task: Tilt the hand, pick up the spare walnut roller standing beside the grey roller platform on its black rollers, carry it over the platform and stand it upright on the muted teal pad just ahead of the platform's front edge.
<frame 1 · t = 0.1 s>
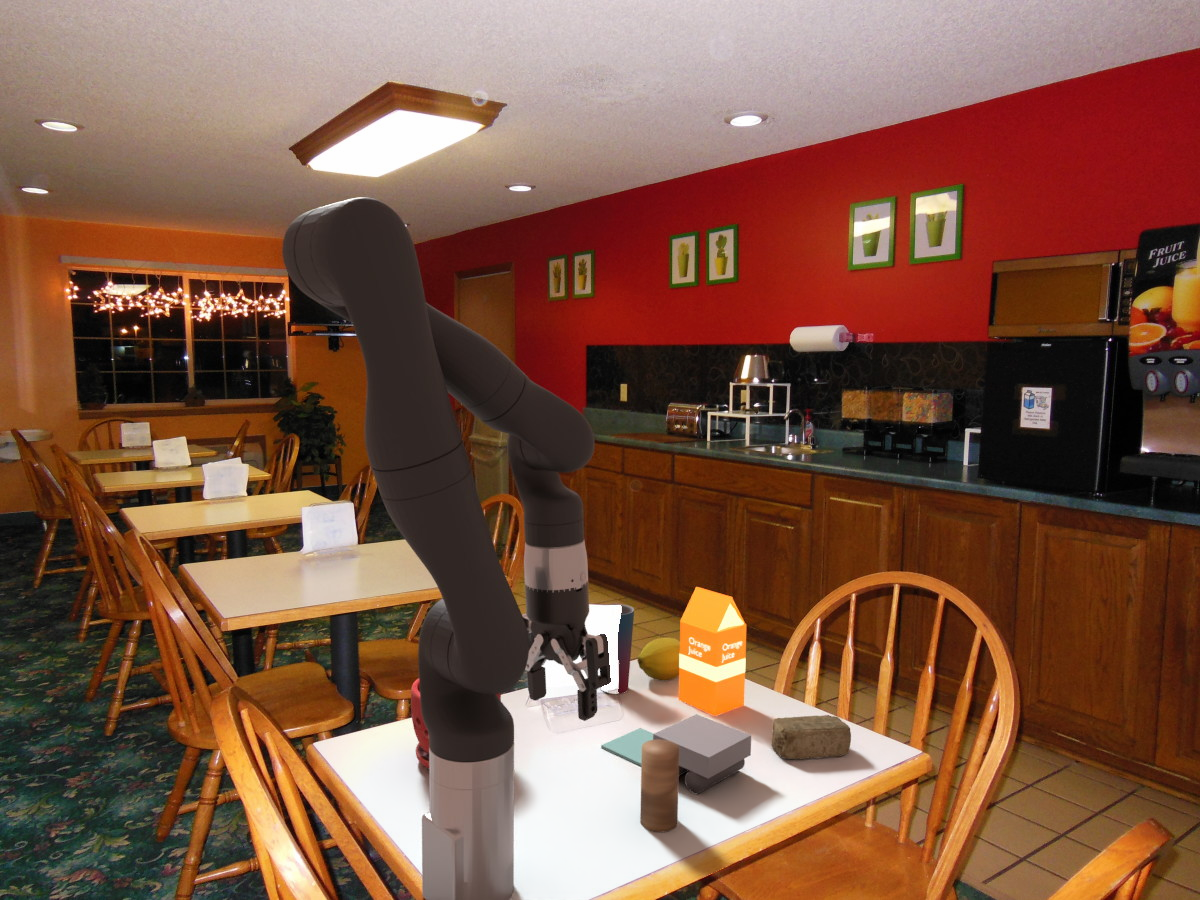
hand: (562, 707, 100), 17 cm above the table, tool pointing down, fingers open, 8 cm apart
teal pad: (642, 748, 128), on the table
stone block: (809, 753, 128), on the table
cup: (614, 690, 151), on the table
plant pot: (456, 761, 123), on the table
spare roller: (658, 821, 107), on the table
lemon: (662, 680, 156), on the table
grey roller platform: (701, 774, 120), on the table
orange juice: (710, 703, 146), on the table
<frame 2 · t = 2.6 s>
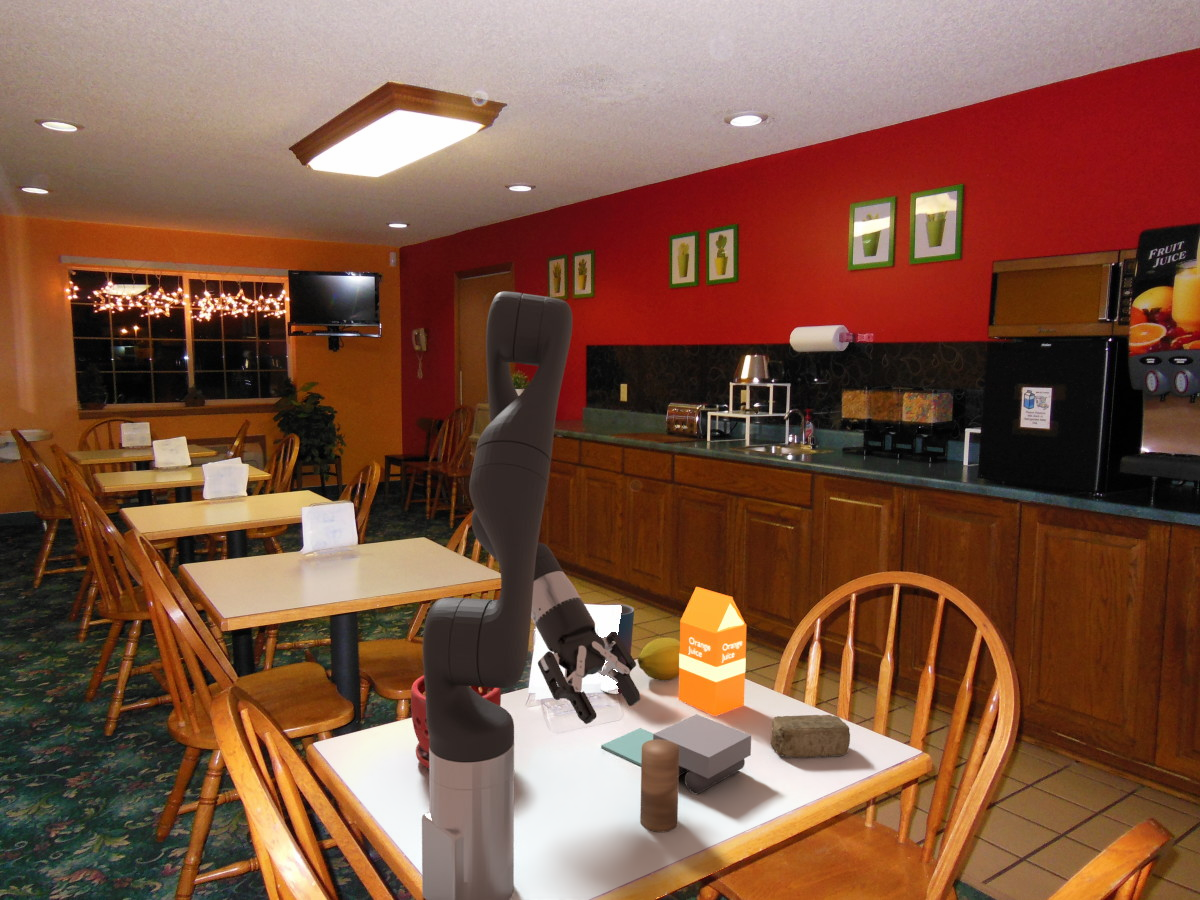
hand: (614, 711, 112), 12 cm above the table, tool tilted 45°, fingers open, 8 cm apart
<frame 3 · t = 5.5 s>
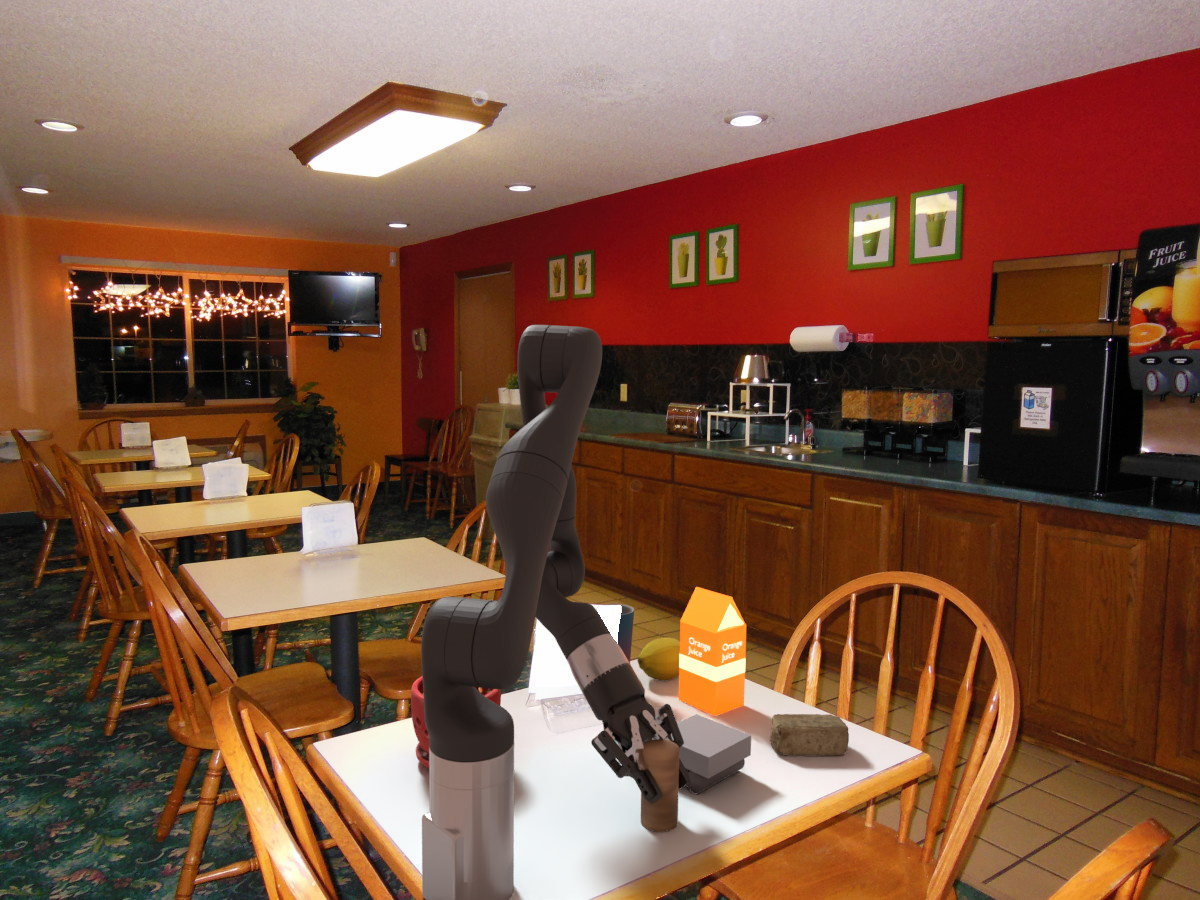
hand: (670, 792, 105), 5 cm above the table, tool tilted 45°, fingers closed on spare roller, 4 cm apart
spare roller: (659, 821, 107), on the table, touching gripper
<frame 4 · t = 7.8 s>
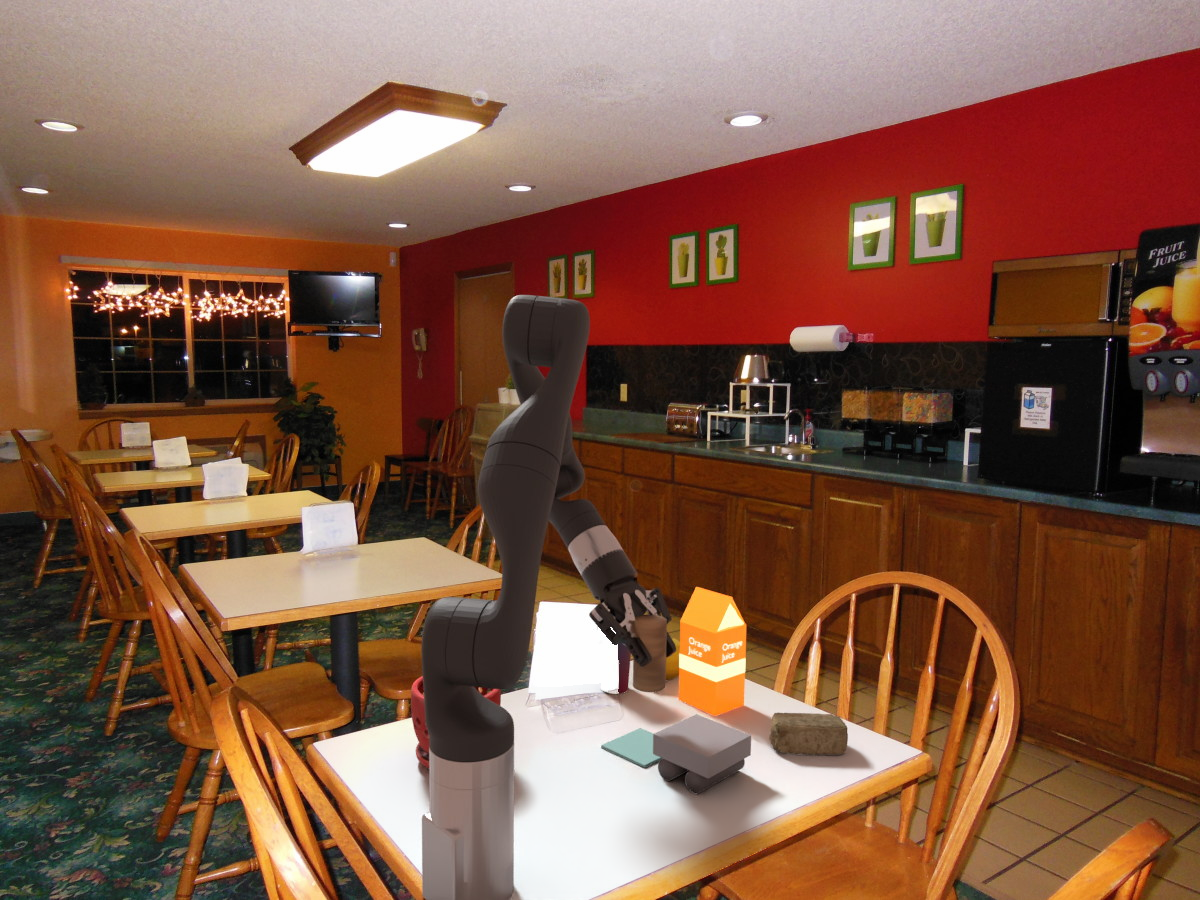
hand: (659, 658, 120), 17 cm above the table, tool tilted 45°, fingers closed on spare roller, 4 cm apart
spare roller: (649, 685, 122), point 12 cm above the table, touching gripper
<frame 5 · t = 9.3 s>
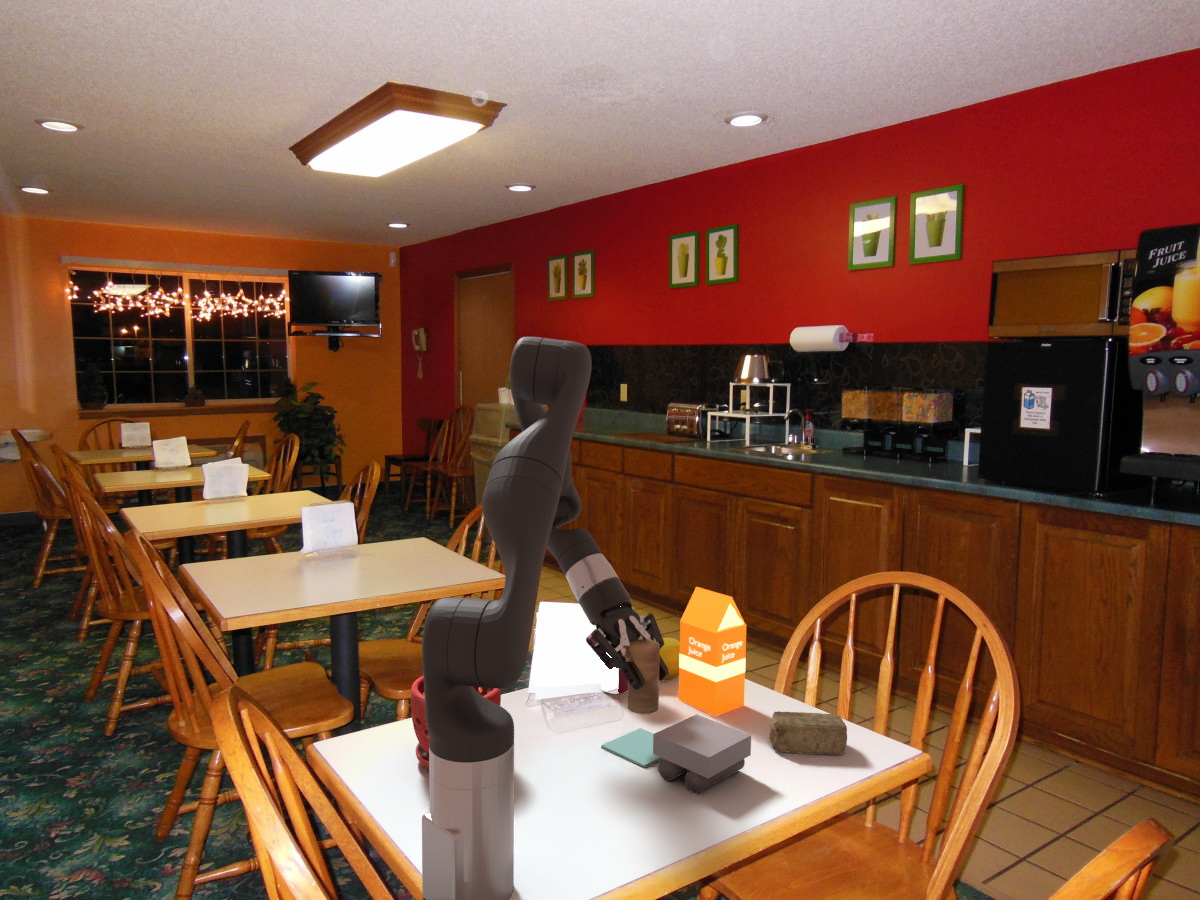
hand: (652, 681, 126), 11 cm above the table, tool tilted 45°, fingers closed on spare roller, 4 cm apart
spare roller: (642, 707, 127), point 6 cm above the table, touching gripper
when the fingers open (6 cm above the table, at t = 10.6 s): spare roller stays where it is, resting on teal pad.
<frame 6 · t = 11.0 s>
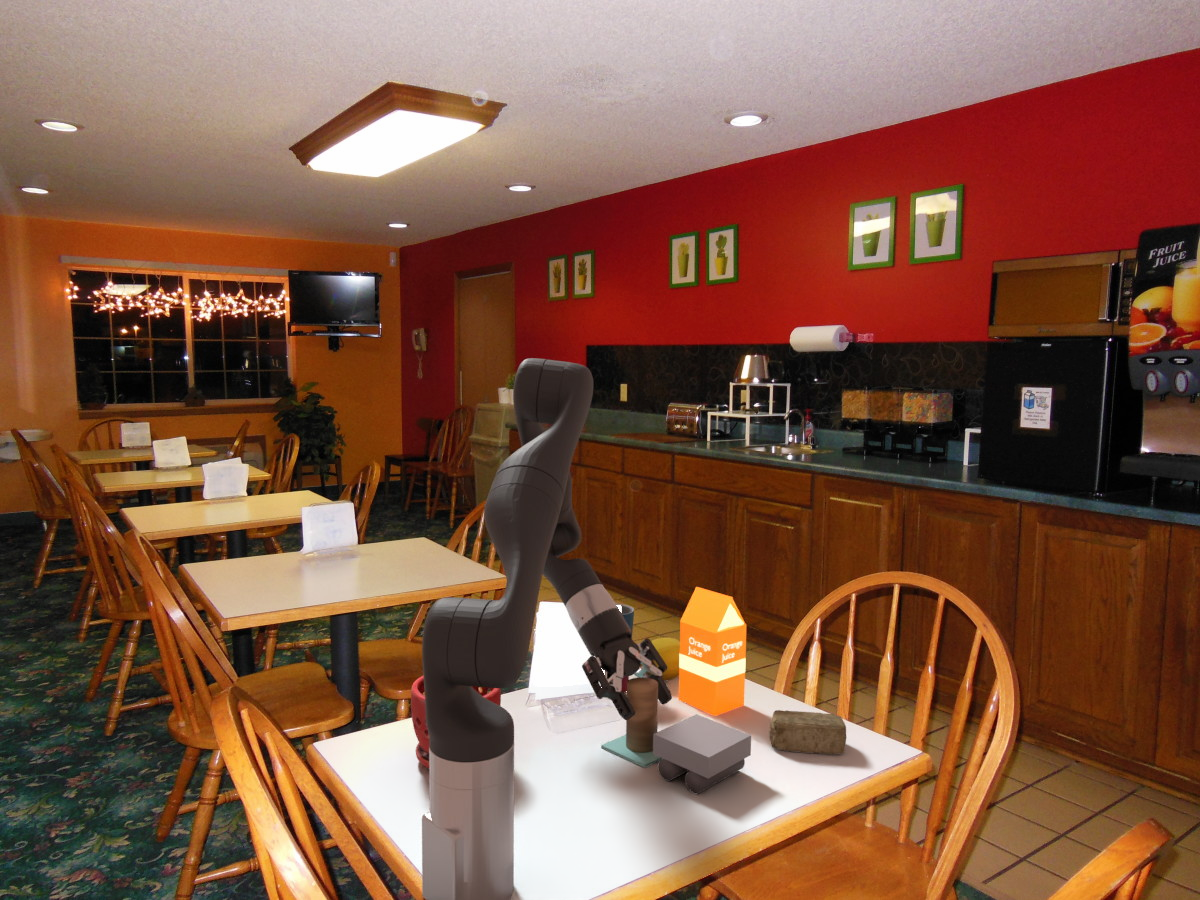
hand: (649, 709, 126), 7 cm above the table, tool tilted 45°, fingers open, 8 cm apart
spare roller: (641, 745, 128), resting on teal pad
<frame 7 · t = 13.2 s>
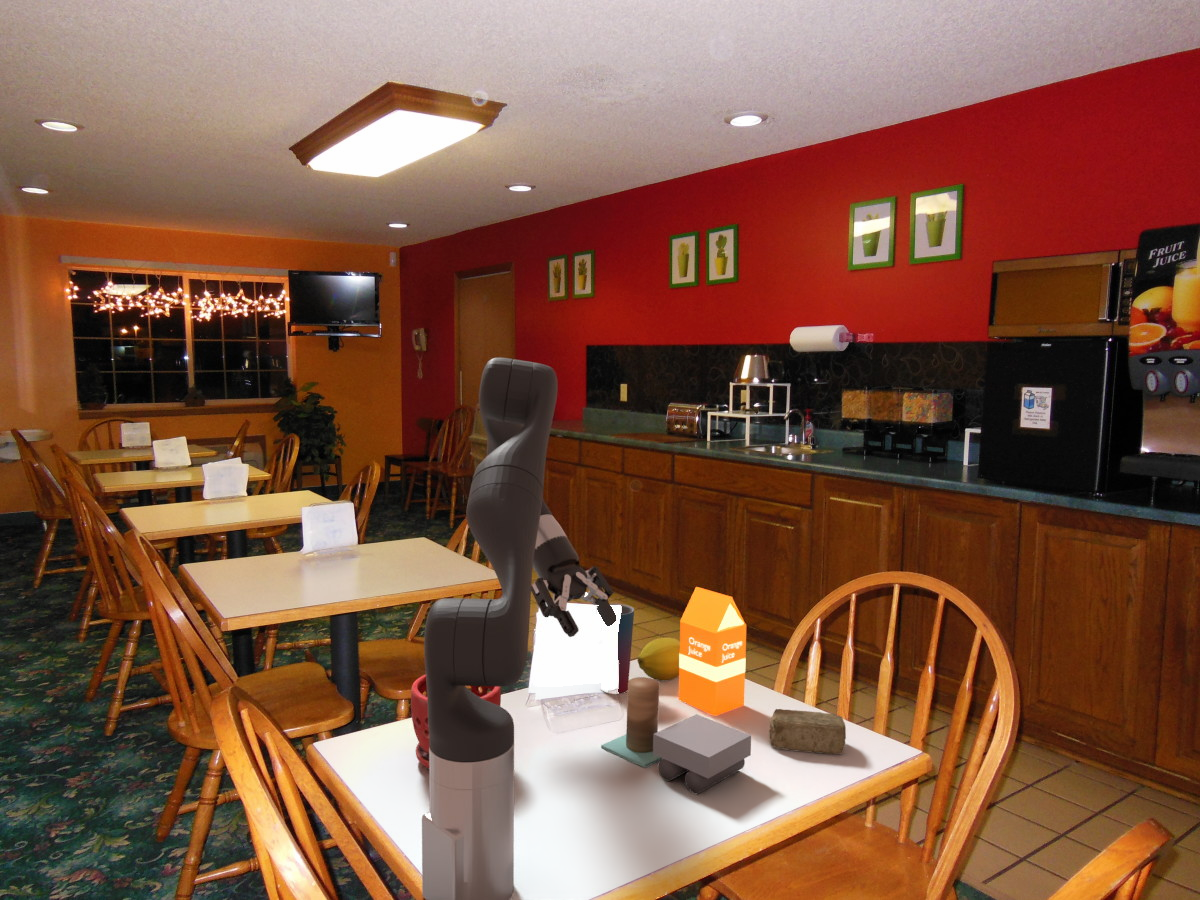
hand: (593, 628, 134), 16 cm above the table, tool tilted 45°, fingers open, 8 cm apart
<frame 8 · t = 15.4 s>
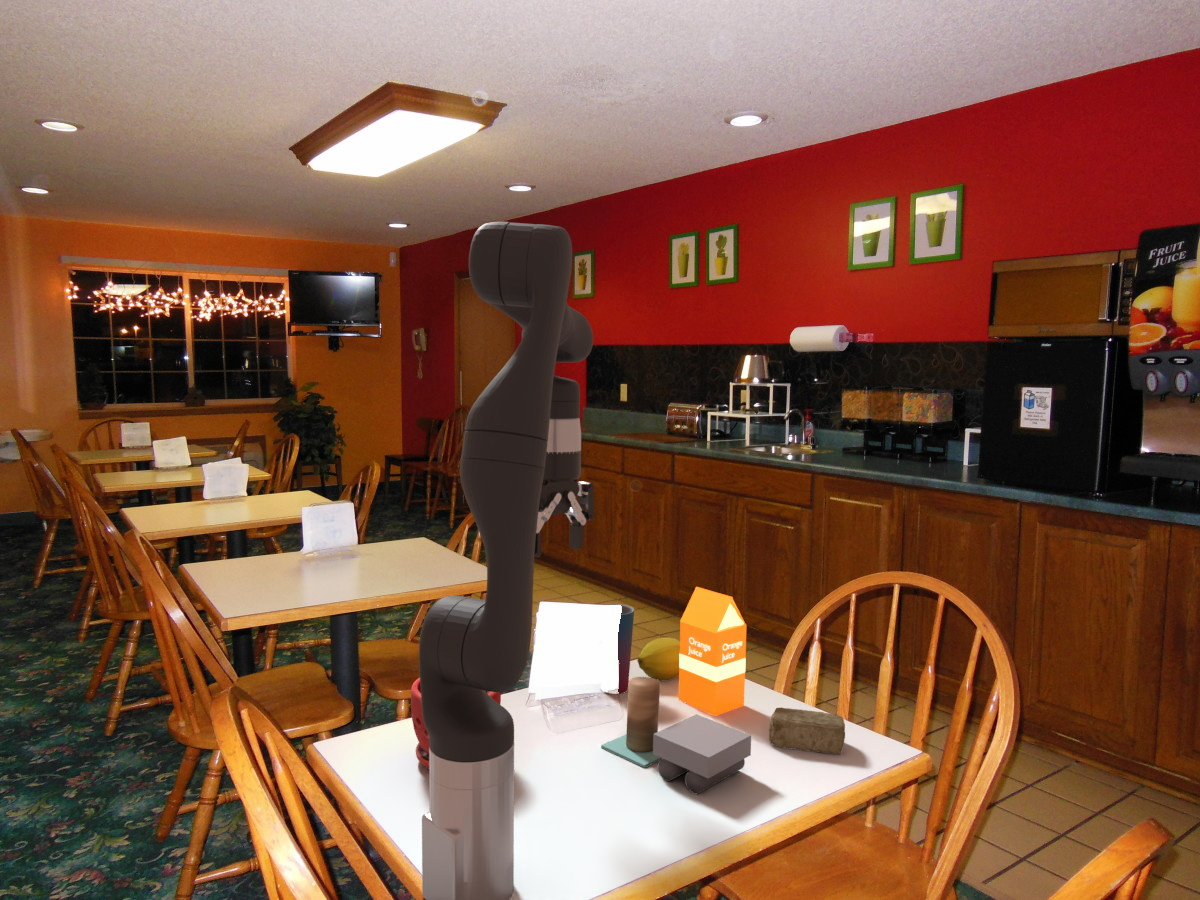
hand: (555, 552, 127), 30 cm above the table, tool pointing down, fingers open, 8 cm apart
at the end: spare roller 0.1 cm off-centre on the teal pad, point 0.5 cm above the teal pad's base; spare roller tilted 2°; the gripper is holding nothing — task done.
